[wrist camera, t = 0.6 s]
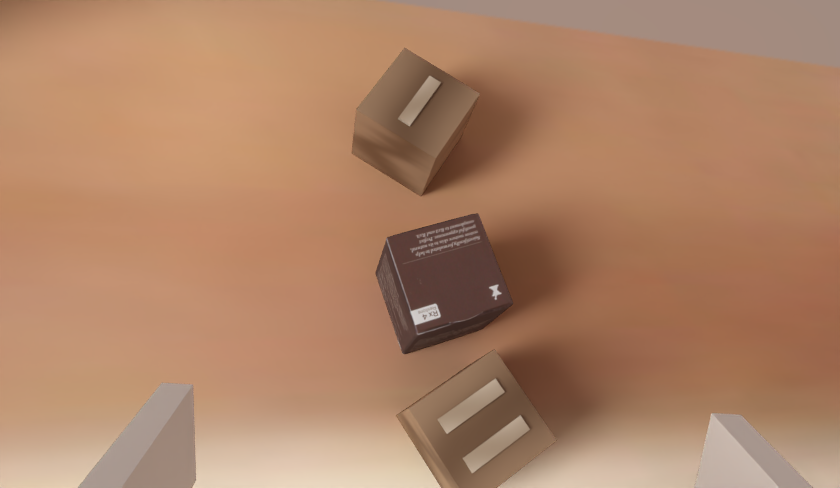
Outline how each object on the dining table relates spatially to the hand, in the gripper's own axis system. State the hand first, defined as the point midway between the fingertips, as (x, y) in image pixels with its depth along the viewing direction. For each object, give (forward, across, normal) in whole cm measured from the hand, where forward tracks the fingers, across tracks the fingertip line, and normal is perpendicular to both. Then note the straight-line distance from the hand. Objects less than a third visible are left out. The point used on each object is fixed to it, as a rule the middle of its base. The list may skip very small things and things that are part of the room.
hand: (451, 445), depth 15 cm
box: (+25, +1, -6) cm, 26 cm away
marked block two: (+20, +3, -13) cm, 24 cm away
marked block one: (+32, -1, +4) cm, 32 cm away
